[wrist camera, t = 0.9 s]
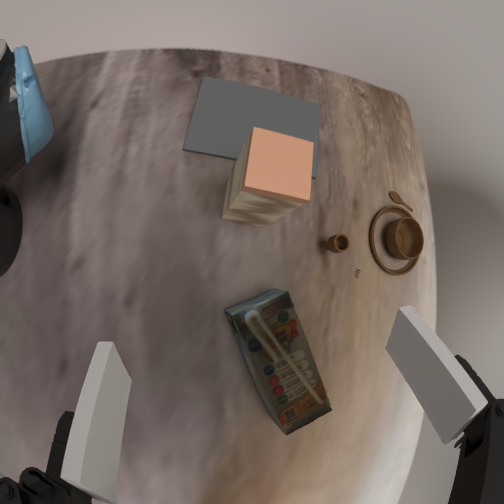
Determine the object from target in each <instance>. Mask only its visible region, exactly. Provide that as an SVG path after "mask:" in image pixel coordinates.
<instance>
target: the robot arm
mask: <svg viewBox="0 0 504 504" xmlns="http://www.w3.org/2000/svg"><path fill="white" fill-rule="evenodd" d="M53 131H54V126H53V122H52V119H51V116H50V113H49V110H48V107H47V104H46V101H45V98H44V95H43V92H42V89H41V87H40V84H39V81H38V77H37V74H36V71H35V68H34V65H33V62H32V59H31V56H30V54H29V51H28V47H27V46H21V47H20V48H18V47H17V48H16V49H14V52H11V51H10V49H9V47H8V45H7V43H6V41H5V40H4V39H0V276H1V275H3V274H4V273H5V272H6V271H7V269H8V268H9V267H10V265H11V264H12V262H13V260H14V258H15V256H16V253H17V251H18V248H19V244H20V239H21V233H22V214H21V208H20V205H19V202H18V199H17V197H16V195H15V194H14V192H13V191H12V190H11V189H10V188H8V187H7V186H5V185H3V184H4V183H5V182H6V181H7V180H8V179H9V178H10V177H11V176H12V175H14V174H15V173H16V172H17V171H18V170H19V169H20V168H22V167H23V166H24V165H25V164H28V163H29V162H30V160H31V158H32V157H33V156H34V155H36V154H37V153H38V152H39V151H40V150H41V149H42V148H44V147H45V146H46V145H47V144H48V143H49V142H50V140H51V138H52V135H53ZM386 350H387V351H388V353H389V355H390V356H391V358H392V359H393V361H394V362H395V364H396V365H397V367H398V369H399V370H400V372H401V373H402V375H403V376H404V378H405V380H406V381H407V383H408V384H409V386H410V388H411V389H412V391H413V393H414V394H415V396H416V398H417V399H418V401H419V402H420V404H421V406H422V407H423V409H424V411H425V413H426V414H427V416H428V417H429V419H430V421H431V423H432V425H433V426H434V428H435V430H436V432H437V433H438V435H439V437H440V439H441V440H442V442H443V444H444V445H445V444H447V443H449V442H450V441H452V440H454V439H455V438H457V437H458V436H459V435H460V434H461V433H462V431H463V432H464V433H465V434H464V435H463V437H461V438H460V439H459V440H458V441H457V442H456V444H455V446H454V448H456V447H457V446H458V445H459V444H460V443H461V445H460V447H459V448H460V449H461V450H460V455H459V461H458V466H457V470H456V475H455V479H454V484H453V487H452V491H451V495H450V498H449V502H448V504H504V399H496V398H494V396H493V395H492V394H491V393H490V391H489V390H488V388H487V387H486V386H485V384H484V383H483V382H482V380H481V379H480V377H479V376H477V374H476V372H475V371H474V370H472V367H471V366H470V365H469V363H468V362H467V361H466V360H465V359H463V358H462V357H461V356H459V355H456V356H453V355H452V353H451V352H450V351H449V350H448V349H447V347H446V346H445V345H444V343H443V342H442V341H441V340H440V339H439V337H438V336H437V335H436V334H435V333H434V331H433V330H432V329H431V328H430V327H429V325H428V324H427V323H426V322H425V321H424V320H423V318H422V317H421V316H420V315H419V314H418V313H417V312H416V310H415V309H414V308H413V307H412V306H411V305H409V306H404V307H400V308H399V309H398V312H397V315H396V318H395V322H394V325H393V328H392V331H391V333H390V336H389V339H388V342H387V345H386ZM131 383H132V380H131V379H130V377H129V375H128V373H127V371H126V369H125V366H124V364H123V362H122V360H121V358H120V356H119V354H118V352H117V349H116V347H115V345H114V343H113V342H98V343H97V346H96V349H95V352H94V354H93V357H92V360H91V363H90V366H89V369H88V372H87V375H86V378H85V381H84V384H83V387H82V390H81V394H80V397H79V400H78V404H77V407H76V411H75V412H70V411H65V412H64V414H63V415H62V416H61V418H60V419H59V421H58V425H57V428H56V433H55V435H54V439H53V440H54V442H53V443H52V447H51V451H50V455H49V460H48V464H47V469H46V472H45V473H44V472H42V471H41V470H39V469H38V468H35V467H29V468H26V469H25V470H24V471H22V473H21V475H20V480H19V483H17V482H15V481H14V480H12V479H10V478H8V477H4V478H1V479H0V504H92V503H91V500H92V498H94V499H96V500H98V501H101V502H106V503H111V504H116V498H117V484H118V473H119V463H120V454H121V446H122V438H123V431H124V424H125V417H126V411H127V405H128V399H129V394H130V388H131Z"/></svg>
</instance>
